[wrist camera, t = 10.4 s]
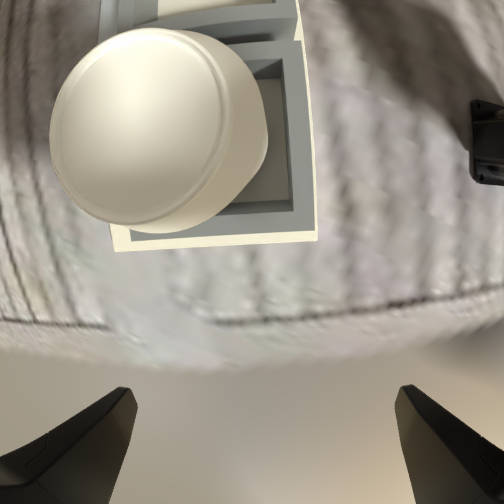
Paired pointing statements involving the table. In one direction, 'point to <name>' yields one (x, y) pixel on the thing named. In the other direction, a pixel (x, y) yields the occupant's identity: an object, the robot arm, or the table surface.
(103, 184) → the beverage can
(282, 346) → the table surface
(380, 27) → the table surface
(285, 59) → the socket board
